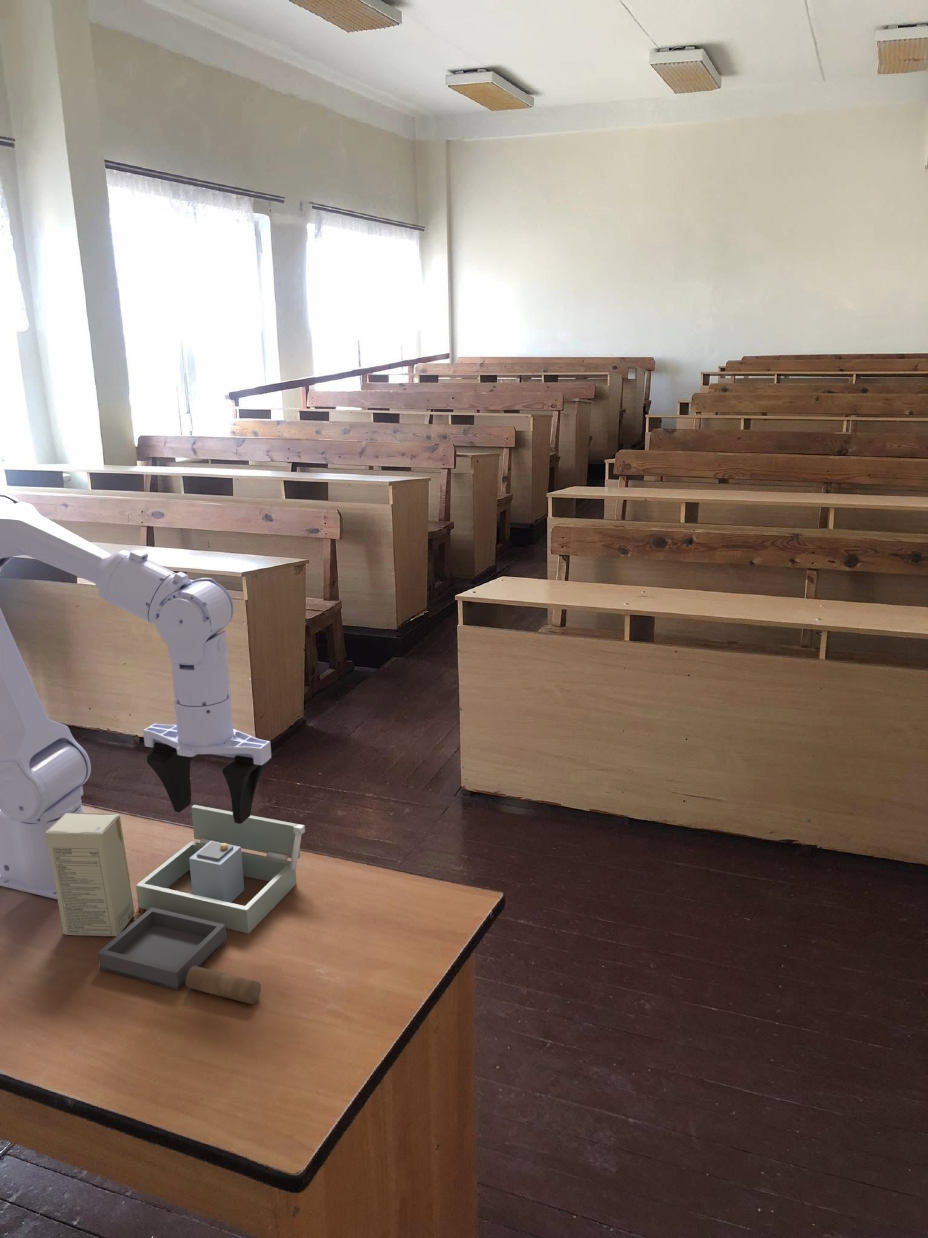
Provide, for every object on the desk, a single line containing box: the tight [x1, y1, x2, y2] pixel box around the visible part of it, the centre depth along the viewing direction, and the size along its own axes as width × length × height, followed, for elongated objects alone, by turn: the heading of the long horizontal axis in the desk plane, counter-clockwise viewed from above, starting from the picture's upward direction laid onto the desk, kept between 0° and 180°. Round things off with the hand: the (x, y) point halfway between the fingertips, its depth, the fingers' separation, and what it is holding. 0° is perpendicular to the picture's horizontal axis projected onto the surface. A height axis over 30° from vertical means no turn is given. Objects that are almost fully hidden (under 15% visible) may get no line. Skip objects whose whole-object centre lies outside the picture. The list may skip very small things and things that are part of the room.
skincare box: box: [46, 812, 136, 937], centre depth 98 cm, size 6×4×12 cm
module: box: [189, 841, 245, 903], centre depth 104 cm, size 4×4×6 cm
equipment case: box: [135, 804, 306, 934], centre depth 104 cm, size 15×11×7 cm
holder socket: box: [97, 907, 228, 991], centre depth 94 cm, size 9×8×2 cm
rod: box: [185, 966, 262, 1005], centre depth 89 cm, size 7×2×2 cm, turn 70°
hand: (212, 813), depth 102 cm, fingers open, 7 cm apart
